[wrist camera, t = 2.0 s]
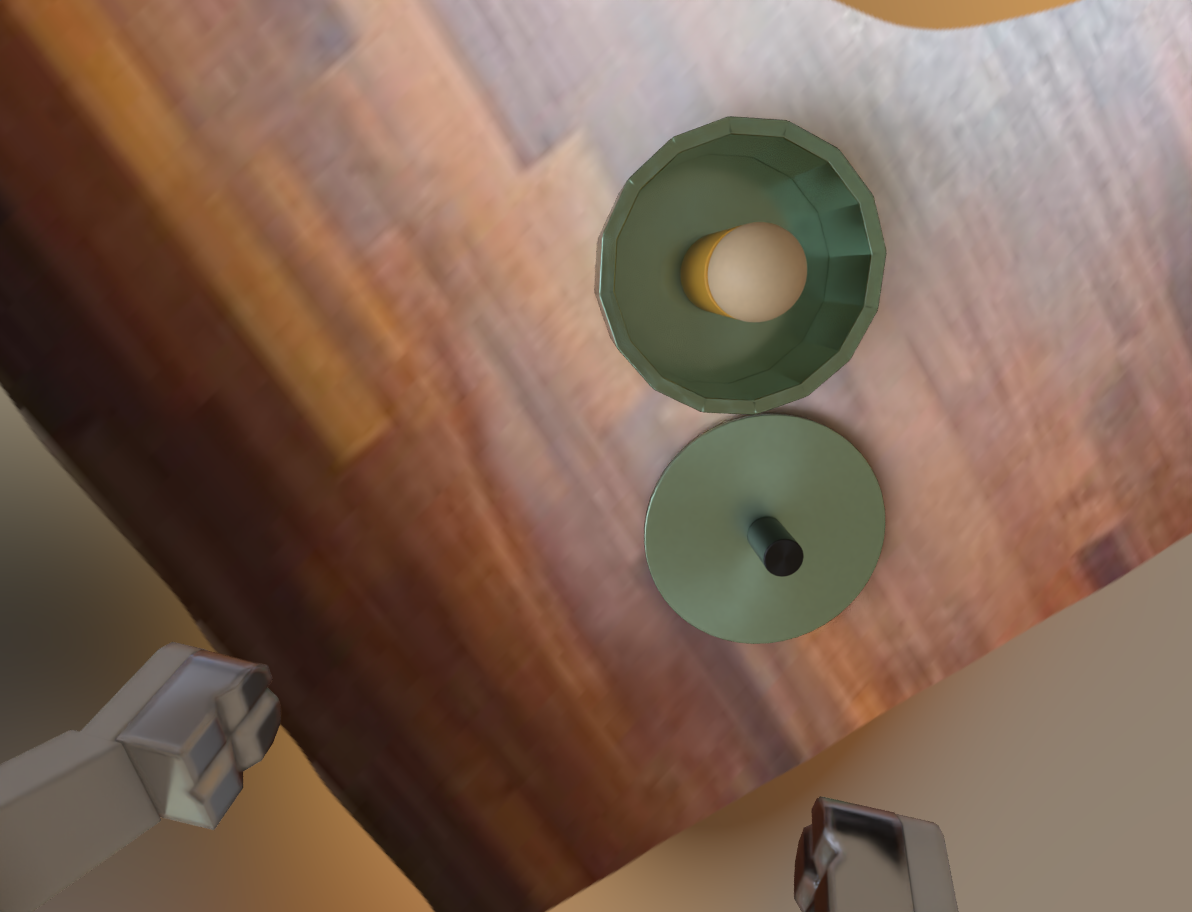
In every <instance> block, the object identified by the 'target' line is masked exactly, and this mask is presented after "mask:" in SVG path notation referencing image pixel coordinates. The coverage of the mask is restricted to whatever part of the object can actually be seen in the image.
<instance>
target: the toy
mask: <svg viewBox="0 0 1192 912" xmlns="http://www.w3.org/2000/svg"><path fill="white" fill-rule="evenodd" d="M680 278H681V284H682V287H683V290H684V292H685V294H686V296H687V297H688V299H689V300H690V301H691V302H692V303H693V304H694V305H695V306H697V307H698V308H700V309H702V310H704V311H708V312H711V313H715V314H719V315H722V316H726V317H730V318H734V319H737V320H741V321H745V322H764V321H768V320H772V319H774V318H776V317H778V316H780V315H782V314H783V313H785V312H786V311H788V310H789V309H790V308H791V307H792V306H793V305H794V304H795V302H796V301H797V300H798V298H799V297H800V295H801V293H802V291H803V289H804V286H805V283H806V278H807V261H806V256H805V253H804V250H803V248H802V246H801V245H800V243H799V242H798V240H797V239H796V238H795V237H794V236H793V235H792V234H791V233H790V232H789V231H787V230H786V229H784V228H782V227H780V226H778V225H776V224H772V223H766V222H754V223H748V224H745V225H741V226H737V227H734V228H730V229H726V230H723V231H719V232H716V233H712V234H709V235H706V236H704V237H702V238H700V239H699V240H697V241H696V242H695V243H694V244H693V245H692V246H691V247H690V248H689V249H688V251H687V252H686V254H685V256H684V259H683V261H682V265H681V271H680Z"/></svg>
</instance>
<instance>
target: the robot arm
mask: <svg viewBox="0 0 1192 912" xmlns="http://www.w3.org/2000/svg"><path fill="white" fill-rule="evenodd" d="M272 680H273V679H272V676H271V673H270V670H269V668H268V665H264V664H260V663H256V662H252V661H248V660H244V659H240V658H236V657H231V656H227V655H223V654H219V653H215V652H210V651H208V650H205V649H201V648H197V647H192V646H188V645H184V644H179V643H175V642H171V643H169V644H168V645H166V646H164V647H162V648H160V649H159V650H158V651H157V652H156V653H155V654H154V655H153V656H152V657H151V658H150V659H149V660H148V661H147V662H146V663H145V664H144V665H143V666H142V667H141V668H140V669H139V670H138V672H137V673H136V674H135V675H134V676H133V677H132V678H131V679H130V680H129V681H128V682H127V683H126V684H125V685H124V686H123V687H122V688H121V689H120V691H119V692H117V694H116V695H115V696H114V697H113V698H112V699H111V700H110V701H109V702H108V703H107V704H106V705H105V706H104V707H103V708H102V709H101V710H100V711H99V713H97V715H96V716H95V717H94V718H93V719H92V720H91V721H90V722H89V723H88V724H87V725H86V726H85V727H84V728H83V729H82V730H81V731H76V730H69V731H67V732H65V733H64V734H61V735H59V736H57V737H55V738H53V739H51V740H49V741H47V742H45V743H43V744H41V745H39V746H37V747H35V748H33V749H31V750H29V751H27V752H24V753H23V754H21V755H18V756H17V757H14V758H12V759H10V760H8V761H6V762H4V763H2V764H0V912H33V911H34V910H35V909H37V908H38V907H40V906H41V905H43V904H44V903H46V902H47V901H48V900H50V899H51V898H53V897H54V896H55V895H57V894H58V893H60V892H61V891H63V890H64V889H65V888H67V887H68V886H70V885H71V884H72V883H73V882H75V881H77V880H78V879H79V878H81V877H82V876H84V875H85V874H87V873H88V872H89V871H91V870H92V869H94V868H95V867H96V866H98V865H99V864H101V863H102V862H103V861H105V860H106V859H108V858H109V857H110V856H112V855H113V854H115V853H116V852H118V851H119V850H120V849H122V848H123V847H125V846H126V845H127V844H129V843H130V842H132V841H133V840H134V839H136V838H137V837H139V836H140V835H142V834H143V833H144V832H146V831H147V830H149V829H150V828H151V827H153V826H154V825H156V824H157V823H158V822H160V821H161V819H160V817H163V818H167V819H172V820H176V821H180V822H184V823H188V824H192V825H196V826H200V827H204V828H208V829H212V830H214V829H215V828H216V827H217V825H218V824H219V822H220V821H221V819H222V818H223V816H224V815H225V813H226V812H227V810H228V809H229V808H230V806H231V805H232V803H233V802H234V800H235V799H236V797H237V796H238V794H239V793H240V792H241V790H242V789H243V771H245V770H246V769H248V768H250V767H251V766H253V765H254V764H256V763H258V762H260V761H261V760H262V759H263V757H264V756H265V754H266V753H267V751H268V750H269V748H270V747H271V745H272V743H273V741H274V739H275V736H276V734H277V731H278V728H279V726H280V721H281V706H280V703H279V699H278V698H277V697H276V696H275V695H274V694H273V693H272V692H271V691H270V690H269V689H268V688H267V687H268V686H269V684H270V683H271V681H272ZM794 899H795V901H796V903H797V904H798V906H799V908H800V910H801V911H802V912H958V907H957V902H956V897H955V892H954V886H953V881H952V876H951V871H950V865H949V860H948V855H947V850H946V845H945V840H944V835H943V833H942V831H941V830H940V828H939V826H938V825H937V824H935V823H934V822H930V821H925V820H921V819H916V818H912V817H907V816H903V815H899V814H895V813H894V812H890V811H885V810H881V809H876V808H871V807H867V806H862V805H857V804H853V803H848V802H844V801H839V800H834V799H830V798H826V797H819V798H817V799H816V801H815V803H814V806H813V808H812V824H811V825H809V826H807V827H805V828H804V829H803V832H802V834H801V837H800V840H799V844H798V849H797V855H796V860H795V874H794Z"/></svg>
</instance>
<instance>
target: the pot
mask: <svg viewBox="0 0 1192 912" xmlns="http://www.w3.org/2000/svg"><path fill="white" fill-rule="evenodd" d="M754 222H766V223H772V224H776V225H778V226H780V227H782V228H784V229H786V230H787V231H789V232H790V233H791V234H792V235H793V236H794V237H795V238H796V239H797V240H798V242H799V243H800V245H801V246H802V248H803V250H804V253H805V256H806V261H807V278H806V283H805V286H804V289H803V291H802V293H801V295H800V297H799V298H798V300H797V301H796V302H795V304H794V305H793V306H792V307H791V308H790V309H789V310H788V311H786V312H785V313H783V314H782V315H780V316H778V317H776V318H774V319H772V320H768V321H764V322H745V321H741V320H737V319H734V318H730V317H726V316H722V315H719V314H715V313H711V312H708V311H704V310H702V309H700V308H698V307H697V306H695V305H694V304H693V303H692V302H691V301H690V300H689V299H688V297H687V296H686V294H685V292H684V290H683V287H682V284H681V278H680V271H681V265H682V261H683V259H684V256H685V254H686V252H687V251H688V249H689V248H690V247H691V246H692V245H693V244H694V243H695V242H696V241H697V240H699V239H700V238H702V237H704V236H706V235H709V234H712V233H716V232H719V231H723V230H726V229H730V228H734V227H737V226H741V225H745V224H748V223H754ZM885 259H886V247H885V243H884V238H883V234H882V230H881V226H880V221H879V217H878V213H877V209H876V205H875V200H874V196H873V195H872V193H871V191H870V190H869V189H868V187H867V186H866V185H865V183H864V182H863V181H862V179H861V178H860V177H859V175H858V174H857V173H856V171H855V170H854V169H853V167H852V166H851V164H850V163H849V162H848V160H847V159H846V158H845V156H844V155H843V154H842V152H841V151H840V150H839V149H838V148H837V147H835V146H833V145H831V144H830V143H828V142H826V141H824V140H822V139H821V138H819V137H817V136H815V135H813V134H812V133H810V132H808V131H806V130H804V129H802V128H801V127H799V126H797V125H795V124H793V123H792V122H790V121H787V120H777V119H762V118H747V117H732V116H730V117H725V118H723V119H720V120H717V121H715V122H712V123H709V124H707V125H704V126H701V127H699V128H696V129H693V130H690V131H688V132H685V133H682V134H680V135H677V136H674V137H673V138H672V139H670V140H669V141H668V142H667V143H666V144H665V145H663V146H662V147H661V148H660V149H659V150H658V151H657V152H656V153H655V154H654V155H653V156H652V157H651V158H650V159H649V160H648V161H647V162H645V163H644V164H643V165H642V166H641V167H640V168H639V169H638V170H637V171H636V172H635V173H634V174H633V175H632V176H631V177H630V178H629V179H628V180H627V181H626V183H625V185H624V186H623V188H622V189H621V191H620V192H619V194H618V196H617V198H616V200H615V202H614V205H613V207H612V209H611V211H610V213H609V215H608V217H607V220H606V222H605V224H604V226H603V229H602V231H601V233H600V235H599V237H598V241H597V251H596V265H595V289H594V290H595V295H596V298H597V301H598V304H599V307H600V310H601V313H602V316H603V318H604V321H605V324H606V327H607V330H608V333H609V336H610V338H611V340H612V341H613V343H614V344H615V346H616V347H617V349H618V350H619V351H620V352H621V353H622V354H623V356H624V357H625V358H626V359H627V360H628V361H629V362H630V364H631V365H632V366H633V367H634V368H635V369H636V370H637V371H638V373H639V374H640V375H641V376H642V377H643V378H644V379H645V380H646V382H647V383H648V384H649V385H650V386H651V387H652V388H653V389H654V390H656V391H658V392H660V393H662V394H664V395H666V396H669V397H671V398H673V399H675V400H677V401H679V402H681V403H683V404H685V405H687V406H690V407H692V408H694V409H696V410H698V411H700V412H707V413H729V414H751V415H754V414H759V413H761V412H764V411H767V410H770V409H773V408H776V407H779V406H781V405H784V404H787V403H790V402H793V401H796V400H799V399H801V398H804V397H806V396H808V395H810V394H811V393H812V392H813V391H814V390H815V389H817V388H818V387H819V386H820V385H821V384H823V383H824V382H825V381H826V380H827V379H828V378H830V377H831V376H832V375H833V374H834V373H835V372H837V371H838V370H839V369H840V368H841V367H843V366H844V365H845V364H846V363H847V362H848V361H849V360H850V359H851V357H852V356H853V354H854V352H855V350H856V348H857V347H858V345H859V343H860V341H861V339H862V338H863V336H864V334H865V332H866V330H867V329H868V327H869V325H870V323H871V322H872V320H873V318H874V316H875V314H876V313H877V311H878V310H877V309H878V306H879V299H880V293H881V286H882V279H883V272H884V266H885Z"/></svg>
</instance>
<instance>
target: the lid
mask: <svg viewBox="0 0 1192 912" xmlns="http://www.w3.org/2000/svg"><path fill="white" fill-rule="evenodd" d="M884 533H885V508H884V502H883V497H882V493H881V490H880V487H879V484H878V481H877V479H876V477H875V475H874V473H873V471H872V469H871V467H870V465H869V464H868V462H867V461H866V460H865V458H864V457H863V455H862V454H861V453H860V452H859V451H858V450H857V449H856V448H855V447H854V446H853V445H852V444H851V443H850V442H849V441H848V440H846V439H845V438H844V437H842V436H841V435H840V434H838V433H837V432H835V431H833V430H831V429H830V428H828V427H826V426H824V425H822V424H820V423H817V422H815V421H812V420H810V419H806V418H802V417H798V416H794V415H786V414H757V415H750V416H744V417H741V418H737V419H734V420H730V421H727V422H725V423H723V424H720V425H718V426H716V427H713V428H712V429H710V430H708V431H707V432H705V433H703V434H701V435H700V436H698V437H697V438H696V439H694V440H693V441H692V442H690V443H689V444H688V445H687V446H685V447H684V448H683V449H682V450H681V451H680V452H679V453H678V454H677V455H676V456H675V457H674V459H673V460H672V461H671V462H670V464H669V465H668V466H667V467H666V469H665V470H664V472H663V473H662V475H661V477H660V478H659V480H658V482H657V484H656V486H655V488H654V490H653V493H652V495H651V497H650V501H649V504H648V508H647V511H646V517H645V524H644V547H645V554H646V559H647V563H648V566H649V570H650V573H651V576H652V578H653V580H654V582H655V585H656V587H657V588H658V590H659V592H660V593H661V595H662V596H663V598H664V599H665V601H666V602H667V603H668V604H669V605H670V607H671V608H672V609H673V610H674V611H675V612H676V613H677V614H678V615H680V616H681V617H682V618H683V619H684V620H685V621H687V622H688V623H690V624H691V625H693V626H694V627H696V628H697V629H699V630H701V631H703V632H705V633H707V634H710V635H712V636H715V637H718V638H721V639H724V640H729V641H733V642H739V643H750V644H760V643H773V642H779V641H784V640H788V639H792V638H796V637H799V636H801V635H804V634H806V633H809V632H811V631H813V630H815V629H817V628H819V627H821V626H822V625H824V624H826V623H827V622H829V621H830V620H832V619H833V618H834V617H836V616H837V615H839V614H840V613H841V612H842V611H843V610H844V609H845V608H846V607H848V606H849V605H850V604H851V602H852V601H853V600H854V599H855V598H856V597H857V596H858V595H859V593H860V592H861V591H862V589H863V588H864V586H865V585H866V583H867V582H868V580H869V578H870V577H871V575H872V573H873V571H874V569H875V567H876V564H877V561H878V559H879V556H880V553H881V549H882V545H883V541H884Z"/></svg>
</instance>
